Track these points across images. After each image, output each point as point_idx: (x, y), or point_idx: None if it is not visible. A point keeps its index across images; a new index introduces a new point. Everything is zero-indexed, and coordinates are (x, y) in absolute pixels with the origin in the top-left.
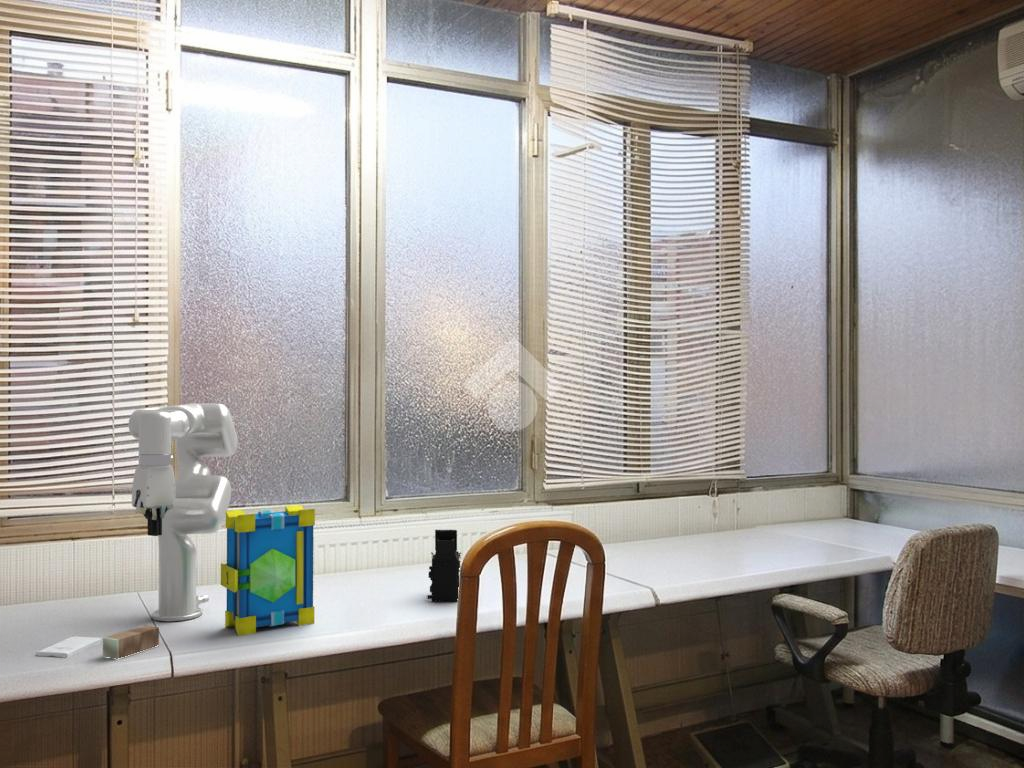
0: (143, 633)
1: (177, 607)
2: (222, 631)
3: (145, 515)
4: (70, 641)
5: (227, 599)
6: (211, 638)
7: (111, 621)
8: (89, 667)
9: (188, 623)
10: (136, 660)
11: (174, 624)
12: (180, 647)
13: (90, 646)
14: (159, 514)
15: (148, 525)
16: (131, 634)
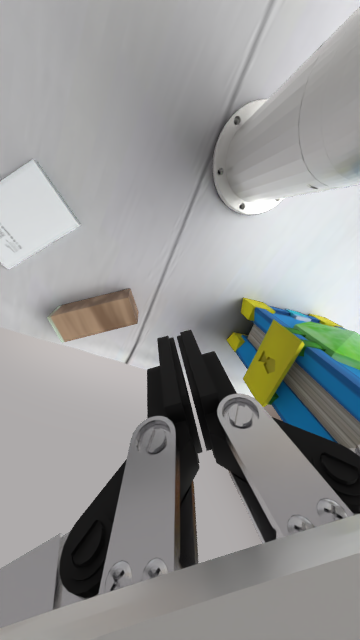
0: (109, 330)
1: (244, 195)
2: (228, 310)
3: (111, 499)
4: (23, 198)
5: (263, 317)
6: (200, 327)
7: (153, 65)
8: (31, 333)
9: (231, 233)
10: (91, 345)
11: (215, 219)
12: (154, 335)
13: (56, 240)
14: (235, 482)
15: (150, 399)
16: (89, 329)
